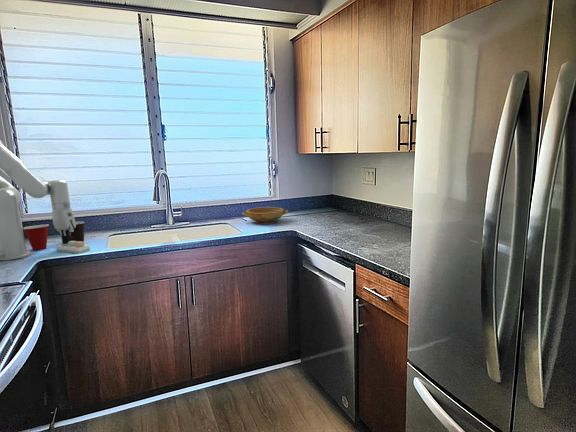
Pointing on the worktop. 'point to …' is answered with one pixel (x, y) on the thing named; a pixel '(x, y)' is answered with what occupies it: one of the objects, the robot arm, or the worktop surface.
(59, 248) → the keypad
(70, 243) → the sage key
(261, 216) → the ceramic bowl
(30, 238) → the plastic cup
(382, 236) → the worktop surface
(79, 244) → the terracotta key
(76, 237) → the coffee mug
